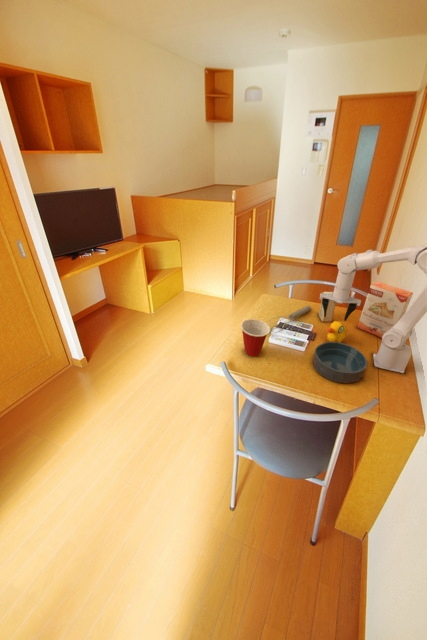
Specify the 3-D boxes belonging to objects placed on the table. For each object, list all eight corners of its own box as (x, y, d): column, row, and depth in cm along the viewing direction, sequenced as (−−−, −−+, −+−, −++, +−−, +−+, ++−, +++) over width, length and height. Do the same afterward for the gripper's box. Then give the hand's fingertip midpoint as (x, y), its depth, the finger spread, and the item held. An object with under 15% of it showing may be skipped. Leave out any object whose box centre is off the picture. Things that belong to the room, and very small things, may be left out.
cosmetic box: (331, 322, 131) (337, 297, 124) (322, 321, 131) (327, 297, 124) (327, 314, 136) (333, 291, 130) (317, 314, 136) (323, 291, 130)
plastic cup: (262, 364, 106) (266, 337, 99) (235, 356, 110) (236, 330, 103) (270, 348, 114) (274, 322, 108) (244, 341, 118) (246, 315, 112)
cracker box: (356, 328, 127) (370, 284, 116) (362, 323, 130) (376, 280, 119) (389, 342, 118) (408, 296, 107) (395, 336, 121) (414, 291, 110)
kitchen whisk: (316, 311, 139) (318, 299, 136) (273, 339, 119) (274, 326, 116) (305, 306, 143) (307, 295, 139) (261, 333, 123) (262, 320, 120)
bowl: (362, 358, 109) (366, 348, 106) (364, 389, 95) (368, 378, 93) (314, 348, 114) (317, 337, 112) (310, 376, 101) (312, 365, 98)
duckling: (330, 350, 113) (335, 329, 108) (319, 343, 117) (324, 322, 112) (348, 341, 118) (354, 320, 113) (337, 334, 122) (342, 314, 117)
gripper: (322, 287, 108) (315, 318, 115) (364, 294, 103) (354, 326, 110) (323, 280, 113) (316, 310, 120) (363, 286, 109) (354, 317, 116)
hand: (334, 317), depth 116 cm, fingers open, 7 cm apart
